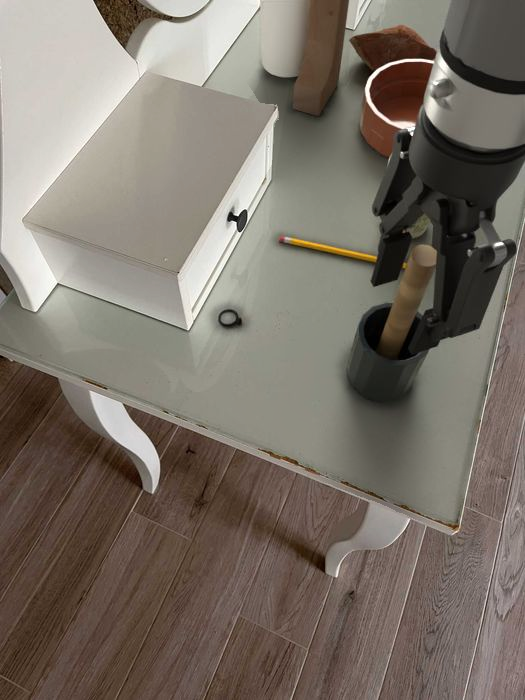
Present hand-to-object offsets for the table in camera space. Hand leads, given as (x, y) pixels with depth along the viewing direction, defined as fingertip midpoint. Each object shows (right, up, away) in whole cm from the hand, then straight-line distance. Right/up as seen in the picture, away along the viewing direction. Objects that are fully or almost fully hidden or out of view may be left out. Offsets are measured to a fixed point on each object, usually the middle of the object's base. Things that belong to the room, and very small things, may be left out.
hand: (402, 312), depth 57 cm
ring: (-18, 0, +15) cm, 23 cm away
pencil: (-2, +9, +20) cm, 22 cm away
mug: (+5, +12, +22) cm, 25 cm away
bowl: (+9, +30, +32) cm, 45 cm away
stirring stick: (0, -6, +11) cm, 12 cm away
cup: (-10, +42, +39) cm, 58 cm away
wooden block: (-5, +36, +35) cm, 51 cm away
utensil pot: (0, -6, +11) cm, 13 cm away
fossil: (+7, +42, +39) cm, 58 cm away
